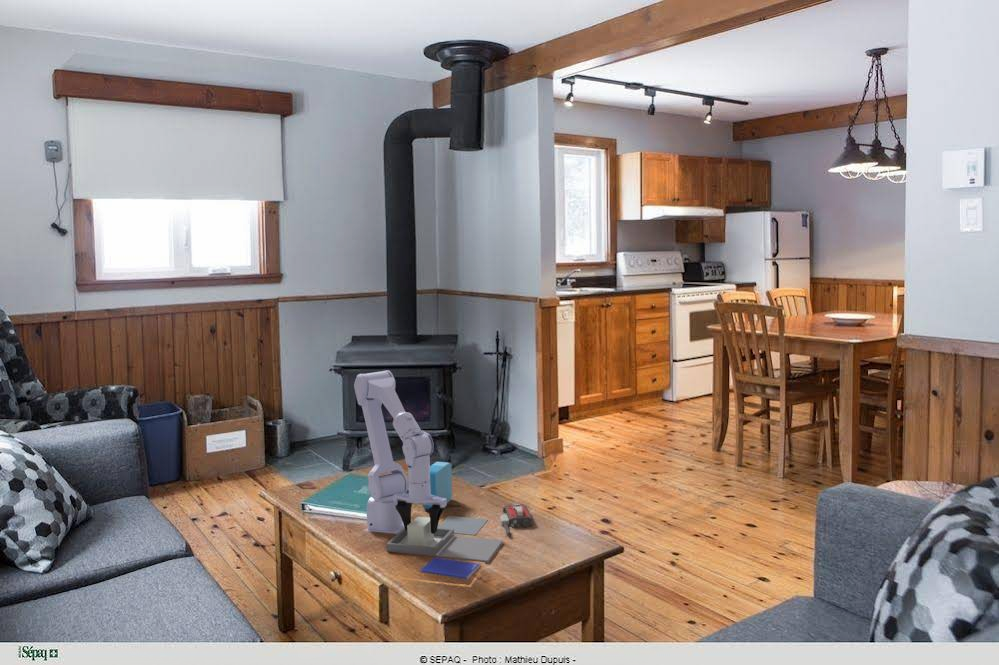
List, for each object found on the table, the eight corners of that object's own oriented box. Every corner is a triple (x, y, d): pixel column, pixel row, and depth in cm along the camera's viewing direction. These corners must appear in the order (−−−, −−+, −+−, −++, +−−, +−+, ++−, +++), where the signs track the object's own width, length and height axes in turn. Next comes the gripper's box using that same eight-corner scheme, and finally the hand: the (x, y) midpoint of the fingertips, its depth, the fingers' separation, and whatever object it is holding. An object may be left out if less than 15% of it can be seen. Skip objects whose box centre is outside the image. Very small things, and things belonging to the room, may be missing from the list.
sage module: (408, 547, 205) (407, 525, 204) (418, 537, 212) (417, 516, 211) (424, 549, 204) (423, 527, 203) (433, 539, 210) (433, 517, 210)
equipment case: (386, 553, 203) (386, 543, 203) (407, 533, 216) (407, 524, 216) (487, 563, 195) (487, 553, 195) (502, 542, 208) (502, 533, 208)
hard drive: (480, 563, 193) (435, 556, 198) (466, 577, 186) (420, 569, 190) (481, 569, 193) (435, 562, 198) (467, 583, 186) (420, 575, 190)
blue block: (439, 497, 245) (438, 460, 244) (452, 499, 244) (451, 461, 243) (423, 510, 234) (421, 471, 233) (437, 512, 233) (435, 472, 231)
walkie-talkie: (496, 513, 231) (505, 539, 212) (496, 499, 231) (504, 523, 211) (525, 512, 233) (537, 537, 213) (525, 497, 232) (537, 521, 212)
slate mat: (433, 533, 216) (433, 530, 216) (448, 517, 228) (448, 515, 228) (475, 537, 213) (475, 534, 213) (488, 521, 224) (488, 519, 224)
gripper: (451, 478, 207) (452, 528, 208) (401, 473, 212) (403, 522, 213) (439, 486, 200) (441, 538, 202) (388, 481, 205) (390, 531, 207)
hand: (420, 530), depth 207 cm, fingers open, 7 cm apart
